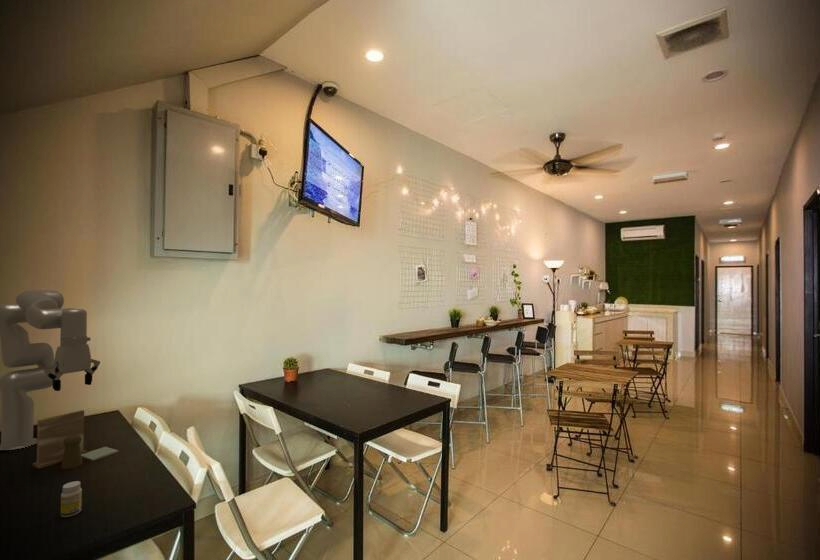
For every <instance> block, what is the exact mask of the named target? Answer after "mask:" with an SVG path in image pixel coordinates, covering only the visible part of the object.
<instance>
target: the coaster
mask: <svg viewBox="0 0 820 560" xmlns="http://www.w3.org/2000/svg"><path fill="white" fill-rule="evenodd" d="M116 453H119V450H118V449H115V448H110V447H108V446H103V447H99V448H97V449H94V450H90V451H87V453H84V454H81V457H82V459H86V460H88V461H92V462H93V461H96V460H100V459H102V458H105V457H108V456H110V455H113V454H116Z"/></svg>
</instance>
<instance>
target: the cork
mask: <svg viewBox="0 0 820 560" xmlns="http://www.w3.org/2000/svg"><path fill="white" fill-rule="evenodd" d="M81 440H82V438H81V436H80V435H71V436H68V437H66V438H65V439H64V441H63V444H64V446H65V450H64V455H63V461H62V462H61V467H60V468H61V470H71V469H74V468H78V467H80V466H81V465H83V457H81V450H80V442H81Z"/></svg>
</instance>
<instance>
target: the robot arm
mask: <svg viewBox="0 0 820 560" xmlns="http://www.w3.org/2000/svg"><path fill="white" fill-rule="evenodd" d="M64 302H65V299H64V295H63V294H62V293H61V292H59V291H57V290H54V289H53V290H49V289H47V290H43V289H39V290H37V289H36V290H26V291H22V292H20V293H19V294H18V295H17V296H16V298H15V302H13V303H11V302H10V303H3V304H0V350H1V360H2V364H3V366H4V367H6V368H9V369H10V368H13V369H14V368H21V367H22V368H23V367H30V366H37V367H35V368H26V369H19V370H12V371H8V372H7V373H5V374H3V375H2V376H0V395H1V397H0V398H1V429H0V430H1V433H0V435H1V436H0V450H15V449H20V450H22V449H21V448H24V449H26V448H25V447H27V448H29V447H28V446H30V447H32V446H31V445H33V446H34V444H35V445H37V438H36V437H34V411H35V410H34V409H35V403H34V399H33V398H32V397H31V396H29V395H28V394H27V393H30V392H34V391H35V392H36V391H39V390H45V389H49V388H51V387H52V389H53V391H55V392H59V391H61V388H62V386H61V385H62V381H61V377H62V376H63V375H65V374H71V373H79V372H85V374H84V384H85V385H87V386H91V385H92V382H93V375H94V373H95V372H96V371H97V369H98V368H99V365H100V364H101V361H100V360H96V359H93V358H92V356H91V350H90V346H89V344H88V342H90V341H91V337H90V336H89V337H88V336H87V333H88V331H87V329H88V327H87V326H88V325H87V323H88V313H87V310H85V309H83V308H82V309H81V308H70V307H69V308H62V307H63V306H64ZM22 323H24V324H25V323H27V324H28V325H30V326H31V327H32V328H35V329H37V330H53V329H60V341H59V342H60V344H59V345H60V346H57V347H56V349H55V352H54V349H53V347H52V345H50V344H49V343H47V342H36V343H35V342H34V343H31V342H30V338H29V336H30V335H29V332H28V331H27V330H26V328H25V327H23V326H22V325H20V324H22ZM92 364H93V365H92ZM15 451H16V450H15Z"/></svg>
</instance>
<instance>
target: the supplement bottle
mask: <svg viewBox="0 0 820 560" xmlns="http://www.w3.org/2000/svg"><path fill="white" fill-rule="evenodd" d="M61 491H62V492H61V494H60V516H61V518H69V517H72V516H77V514H79V513H80V512H81V511H82V509H83V508H82V507H83V504H82V503H83V489H82V487H81V481H80V480H75V481H70V482H67V483H65V484H63V486H62V490H61Z"/></svg>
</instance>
